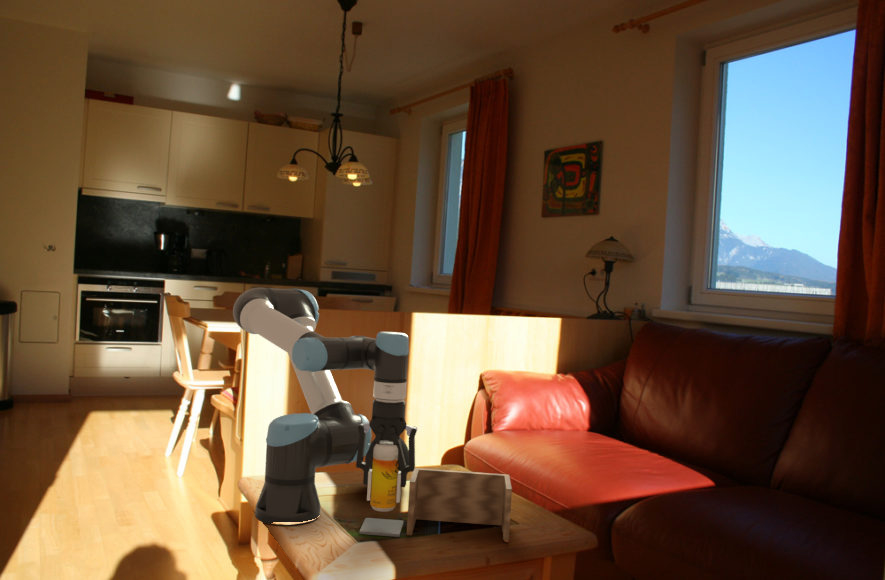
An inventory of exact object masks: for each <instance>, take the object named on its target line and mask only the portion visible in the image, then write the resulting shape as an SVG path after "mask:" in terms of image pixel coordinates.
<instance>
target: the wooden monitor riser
mask: <svg viewBox="0 0 885 580" xmlns="http://www.w3.org/2000/svg"><path fill="white" fill-rule="evenodd" d="M511 483H512V482H511V477H510V474H505V473H504V474H502V473H492V472H491V473H489V472H478V471H476V472H475V471H465V470H463V471H462V470H461V471H460V470H451V469H449V470H447V469H446V470H445V469H433V468H422V467H421V468H419V467H415V469H414V471H413V472H412V474H411V477H410V480H409V485H408V489H409V490H408V501H407V502H408V504H407V506H408V507H407V520H406V536H413V533H414V532H413V531H414V529H415V524H416V520H423V521H433V522H434V521H436V522H446V523H447V522H450V523H452V522H453V523H461V524H462V523H465V524H475V525H476V524H477V525H479V524H480V525H489V526H501V532H503V535H502V541H503V540H509V541H510V529H511V527H510V526H511V511H512V509H511V507H512V496H513V495H512V494H513V487H512V484H511Z"/></svg>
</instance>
